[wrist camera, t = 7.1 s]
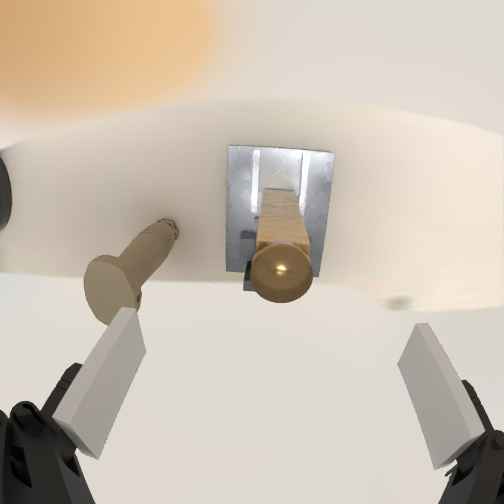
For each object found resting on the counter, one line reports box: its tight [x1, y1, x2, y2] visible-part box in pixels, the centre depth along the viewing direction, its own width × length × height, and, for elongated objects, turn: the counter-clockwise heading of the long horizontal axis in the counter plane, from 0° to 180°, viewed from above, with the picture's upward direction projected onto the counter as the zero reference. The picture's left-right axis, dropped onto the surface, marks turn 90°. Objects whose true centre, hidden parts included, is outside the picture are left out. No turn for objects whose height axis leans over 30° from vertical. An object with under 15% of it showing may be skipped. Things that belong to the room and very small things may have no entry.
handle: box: [84, 219, 178, 326], centre depth 28 cm, size 5×6×15 cm
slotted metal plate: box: [226, 145, 334, 291], centre depth 30 cm, size 11×14×6 cm
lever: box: [250, 189, 313, 303], centre depth 24 cm, size 4×4×15 cm
